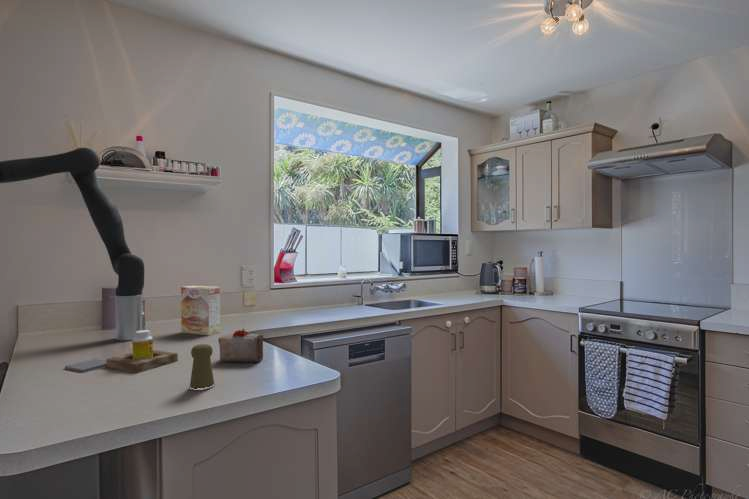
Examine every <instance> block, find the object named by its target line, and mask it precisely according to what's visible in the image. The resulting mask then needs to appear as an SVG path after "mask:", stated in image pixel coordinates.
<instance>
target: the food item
mask: <svg viewBox="0 0 749 499" xmlns="http://www.w3.org/2000/svg"><path fill="white" fill-rule="evenodd" d="M217 341H218V345H219V362H220V363H250V362H251V363H260V362H261V361H262V360H263V359H264V335H263V334H261V333H248V331H247V330H245V328H243V329H242V330H240V329H239V330H238V329H237V330H235V331H234V332H233V333H230V334H222V335H221V336H219V338H218V339H217ZM262 358H263V359H262ZM261 359H262V360H261ZM260 360H261V361H260Z"/></svg>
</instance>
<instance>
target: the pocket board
mask: <svg viewBox="0 0 749 499" xmlns="http://www.w3.org/2000/svg"><path fill="white" fill-rule="evenodd" d="M178 354H179V353H178V352H171V351H164V350H159V349H153V357H152V358H148V359H144V360H140V361H138V360H133V352H129V353H125V354H121V355H117V356H113V357H108V358H106V359H105V361H106V368H111V369H115V368H116V370H120V369H121V370H122V371H126V372H131V371H132V372H131V373H136V372H138V373H141V372H144V371H147V370H146V369H148V370H151V369H154V368H153V367H155V368H158V367H161V365H162V366H165V365H167V364H172V363H175V362H178V361H179V360H178V358H179V356H178ZM174 361H175V362H174ZM171 362H172V363H171ZM164 364H165V365H164ZM157 366H158V367H157ZM150 368H151V369H150ZM143 370H144V371H143ZM140 371H141V372H140Z"/></svg>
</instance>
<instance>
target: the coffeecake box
mask: <svg viewBox="0 0 749 499" xmlns="http://www.w3.org/2000/svg"><path fill="white" fill-rule="evenodd" d="M180 291H181V292H180V293H181V294H180V298H181V300H180V301H181V302H180V305H181V306H180V307H181V308H180V309H181V311H180V313H181V314H180V315H181V316H180V318H181V320H180V321H181V333H182V334H190V335H191V334H192V335H202V336H212V335H215V334H220V333H221V292H220V291H221V286H210V285H207V286H206V285H186V286H185V285H184V286H180Z"/></svg>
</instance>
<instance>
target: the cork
mask: <svg viewBox="0 0 749 499" xmlns="http://www.w3.org/2000/svg"><path fill="white" fill-rule="evenodd" d="M213 353H214V352H213V347H212V345H210V344H208V343H206V344H204V343H203V344H202V343H201V344H196V345H194V346H193V347H192V348H191V350H190V354H191V357H192V358H193V360H192V368H191V375H190V383H189V388H190V387H191V388H194V389H197V388H205V387H210V386H212V385H213V384H214V385H215V381H214V380H215V379H214V373H213V366H212V360H211V359H212V358H211V357H212V355H213Z"/></svg>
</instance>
